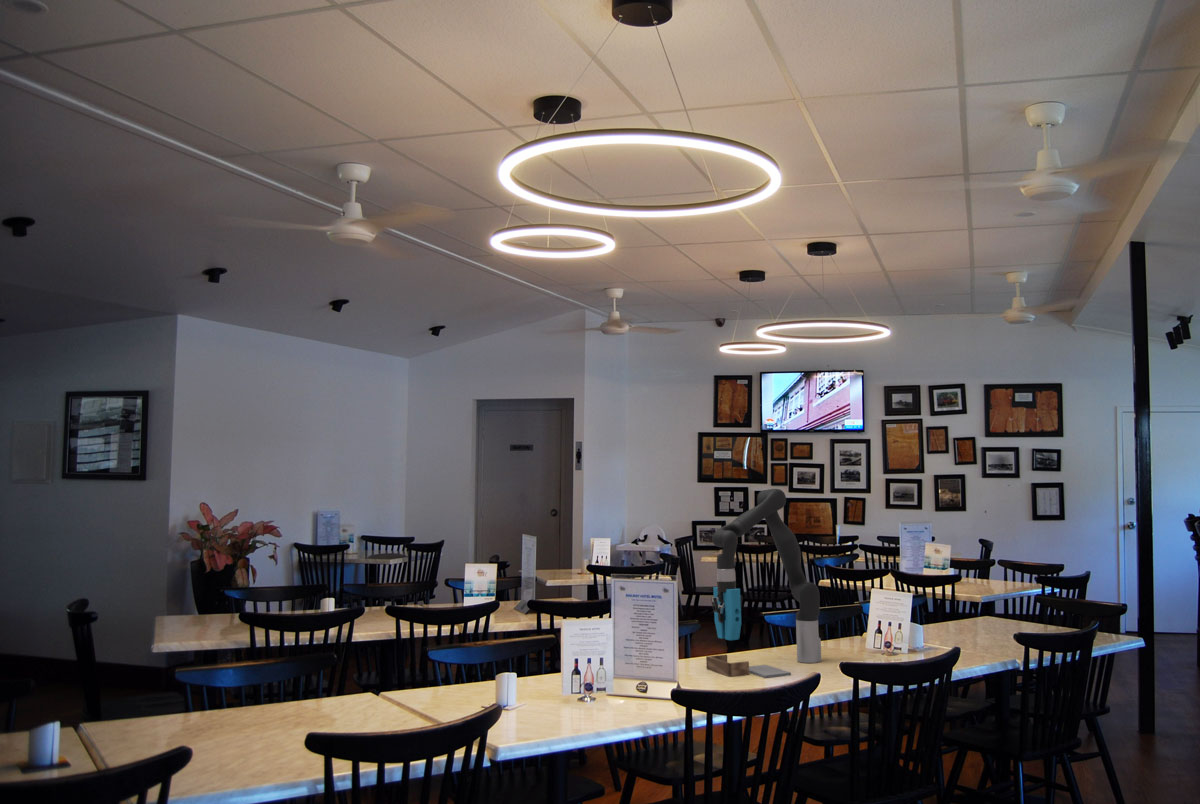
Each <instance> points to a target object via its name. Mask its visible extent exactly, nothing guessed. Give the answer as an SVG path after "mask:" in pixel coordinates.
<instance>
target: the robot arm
mask: <svg viewBox="0 0 1200 804" xmlns="http://www.w3.org/2000/svg"><path fill="white" fill-rule="evenodd" d="M786 502H787V496H786V494H785V492H784V491H783V490H782V489H779V488H771V489H765V490H761V491H759V492H758V494H757V505H756V506H754V507H752V508H750V509H749V510H746V511H744V512H743V513H741V514H740V515H739V516H737V517H736V518H734V519H733V520H732V521H731V522H730V523H728V524H725V525H724V526H721V527H719V529H717V530H716V531H714V533H713V535H712V539H711V540H712V543H713V545H714V546H715V547H718V548H723V549H722V552H721V553H718V554H717V556H716V587H717V591H718V595H717V597H714V596H712V597H710V601H711V605H712V610H713V613H714V612H717V613H718V621H719V622H720V623H724V619H723V614H722V613H723V610H724V608H725V603H724V602H723V592H724V593H725V592H726V589H735V588H737V587H736V586H737V582H736V579H737V577H736V570H735V569H736V568H735V556H736V552H737V548H738V538H740V537H743V536H744V535H745V534H746V533H747V532H749V531H750V530H751V529H752V528H753V527H755V526H756V525H757V524H759V523H760V522H761V521H763V520H765V522H766V524H767V526H768V528H769V529H768V530H769V531H770V534H771V537H772V539H773V541H774V544H775V547H776V550H777V553H778V555H779V557H780V560H781V563H782V565H783V568H784V571H785V573H786V576H787V579H788V584H789V587H790V591H791V594H792V597H793V598H794V600H795V601H796V602H798V603H799V609H798V611H797V612H796V613H795V627H796V628H795V629H796V630H795V633H796V657H797V658H796V660H797V662H798V663H804V664H814V663H815V664H816V663H820V662H822V640H821V637H820V636H819V615H820V608H821V606H820V605H821V604H820V603H821V602H820V601H821V600H820V599H821V596H820V590H819V587H818V586H817V584H815V583H813V582H810V581H808V580H807V579H806V576H805V573H804V571H803V568H802V552H801V547H800V545H799V543H798V540H797V537H796V535H795V534H794V532H793V531H792V530H791V529H790V528H789V526H787V525H786V524H785V522H784V521H783V520H782V519H781V517H780V515H779V512H778V511H779V510H782V509H783V508H784V506H785V505H786ZM743 599H744V597H743V595H742V594H740V600H741V608H742V606H743ZM718 600H719V601H720V603H721V605H720V603H719V605H718V603H717V602H718Z"/></svg>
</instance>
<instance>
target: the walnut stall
mask: <svg viewBox="0 0 1200 804" xmlns="http://www.w3.org/2000/svg"><path fill="white" fill-rule="evenodd" d="M705 660H706V670H709V671H711V672H714V673H717V674H721V675H723V676H726V677H728V678H732V677H741V676H748V675H750V673H749V666H750V662H749V661H748V660H747V661H746V660H745V661H737V662H728V655H727V654H719V655H709V656H708V655H707V656H706V659H705Z"/></svg>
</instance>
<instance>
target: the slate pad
mask: <svg viewBox="0 0 1200 804" xmlns="http://www.w3.org/2000/svg"><path fill="white" fill-rule="evenodd" d="M749 674H752V675H755V676H758V677H760V678H763V679H768V678H770V679H771V678H777V677H778V678H779V677H785V676H786V677H787V676H792V672H790V671H788V670H787V671H786V670H785V669H784V670H783V669H781V668H778V667H773V666H771V665H768V664H760V665H758V664H757V665H749Z"/></svg>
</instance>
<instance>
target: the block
mask: <svg viewBox="0 0 1200 804" xmlns="http://www.w3.org/2000/svg"><path fill="white" fill-rule="evenodd" d="M712 589H713V597H717V595H718V591H717V586H713V588H712ZM740 595H741V588H737V587H736V588H735V589H726V592H725V593H724V592H723V602H724V603H725V608H724V610H723V613H722V614H723V619H724V623H720V622H719V621H718V613H717V612H714V611H713V613H714V624H715V630H716V635H717V638H718V639H722V640H723V639H725V641H736V640H740V635H741V627H742V607H741V600H740ZM717 603H718V605H719V603H720V601H719V600H718V602H717ZM720 605H721V603H720Z"/></svg>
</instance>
